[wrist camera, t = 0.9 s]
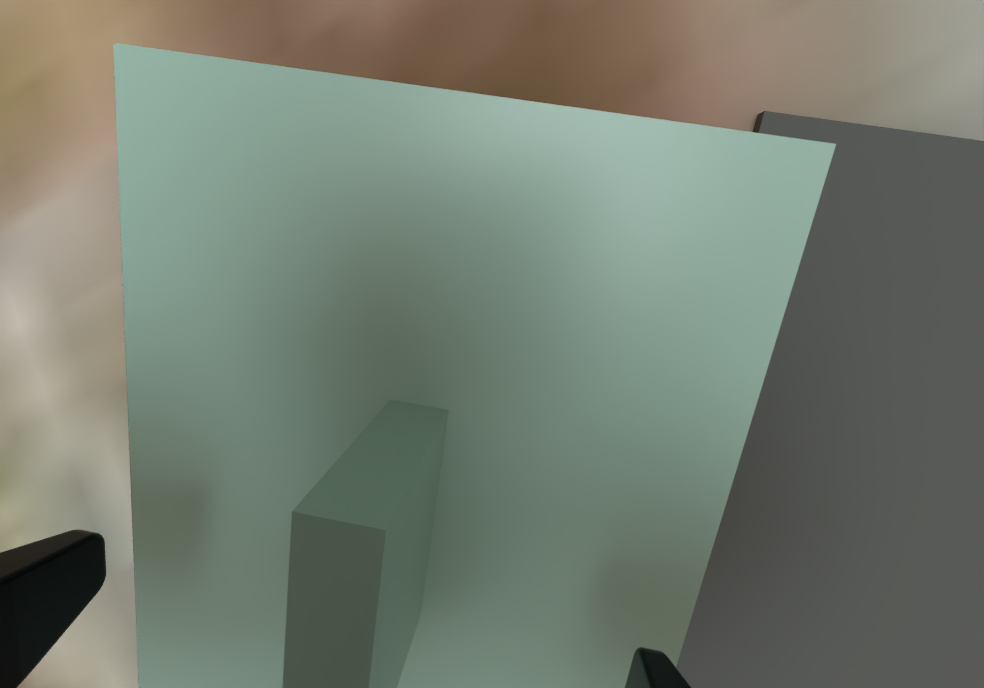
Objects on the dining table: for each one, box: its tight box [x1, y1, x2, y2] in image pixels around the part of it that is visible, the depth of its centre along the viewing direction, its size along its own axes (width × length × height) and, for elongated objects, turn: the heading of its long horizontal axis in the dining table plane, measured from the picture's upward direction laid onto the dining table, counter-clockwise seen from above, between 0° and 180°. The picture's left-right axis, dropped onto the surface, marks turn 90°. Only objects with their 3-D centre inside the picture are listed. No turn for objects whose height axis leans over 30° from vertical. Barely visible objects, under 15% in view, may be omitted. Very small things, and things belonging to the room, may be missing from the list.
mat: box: [676, 111, 984, 688], centre depth 15 cm, size 20×17×1 cm
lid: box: [113, 43, 836, 688], centre depth 10 cm, size 17×13×6 cm
